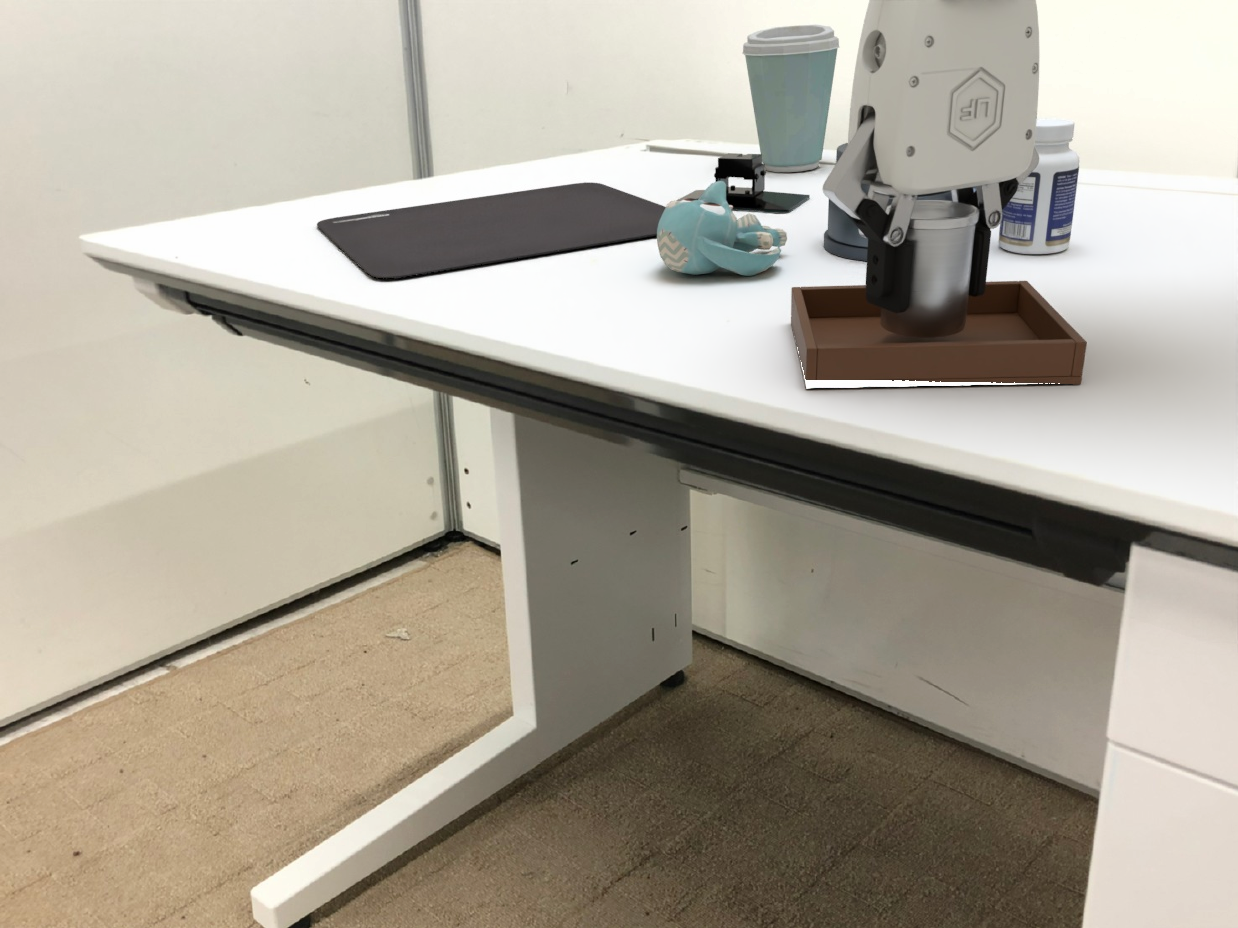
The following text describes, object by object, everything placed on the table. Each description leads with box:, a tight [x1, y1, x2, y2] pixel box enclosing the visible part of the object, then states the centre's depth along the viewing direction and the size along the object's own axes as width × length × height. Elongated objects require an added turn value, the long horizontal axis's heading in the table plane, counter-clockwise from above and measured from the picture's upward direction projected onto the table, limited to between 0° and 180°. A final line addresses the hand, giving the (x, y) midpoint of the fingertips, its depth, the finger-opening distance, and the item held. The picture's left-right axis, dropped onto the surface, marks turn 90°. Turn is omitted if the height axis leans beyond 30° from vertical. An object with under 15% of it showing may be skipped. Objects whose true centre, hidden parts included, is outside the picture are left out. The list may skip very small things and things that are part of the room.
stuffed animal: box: [656, 181, 788, 277], centre depth 84 cm, size 11×7×12 cm
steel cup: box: [880, 200, 979, 338], centre depth 63 cm, size 5×5×7 cm
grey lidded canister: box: [823, 142, 953, 262], centre depth 86 cm, size 11×11×8 cm
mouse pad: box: [316, 182, 666, 280], centre depth 102 cm, size 32×27×1 cm
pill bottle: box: [998, 118, 1081, 255], centre depth 83 cm, size 5×5×10 cm
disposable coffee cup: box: [742, 24, 840, 173], centre depth 119 cm, size 11×11×15 cm
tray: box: [790, 280, 1088, 385], centre depth 64 cm, size 15×12×2 cm
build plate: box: [675, 152, 811, 214], centre depth 105 cm, size 12×7×5 cm, turn 64°
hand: (925, 295), depth 63 cm, fingers closed on steel cup, 5 cm apart
